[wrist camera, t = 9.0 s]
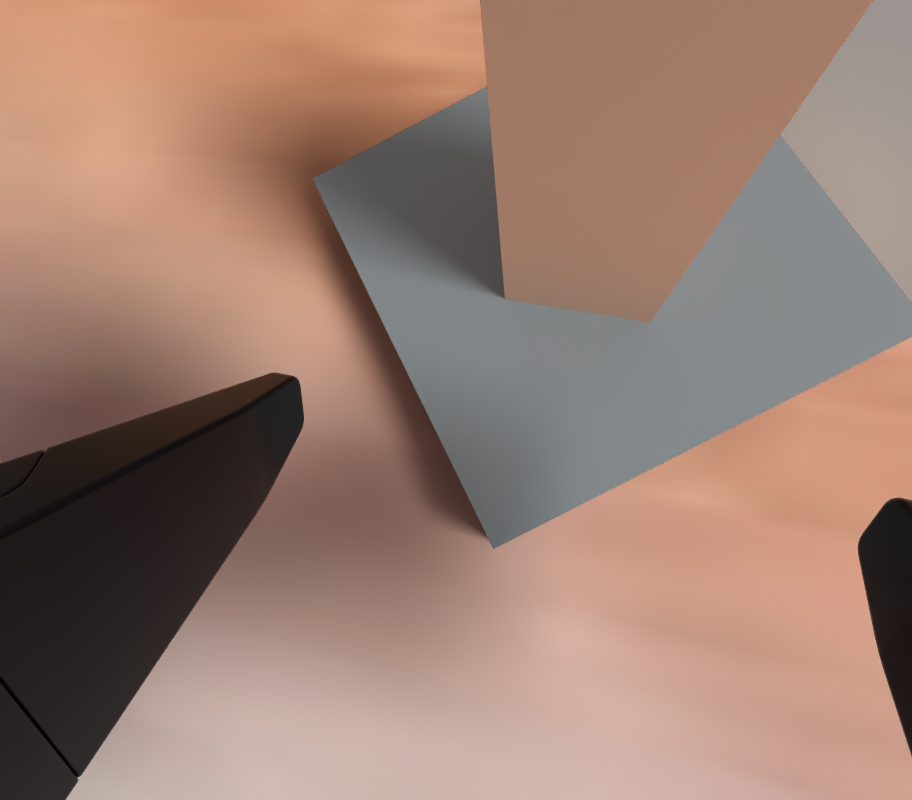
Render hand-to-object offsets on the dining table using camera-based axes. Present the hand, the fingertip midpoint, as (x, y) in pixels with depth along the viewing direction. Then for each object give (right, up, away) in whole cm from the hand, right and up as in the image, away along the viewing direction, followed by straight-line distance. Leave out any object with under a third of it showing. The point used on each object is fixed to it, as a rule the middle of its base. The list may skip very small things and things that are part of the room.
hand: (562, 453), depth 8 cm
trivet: (+3, +5, +11) cm, 13 cm away
